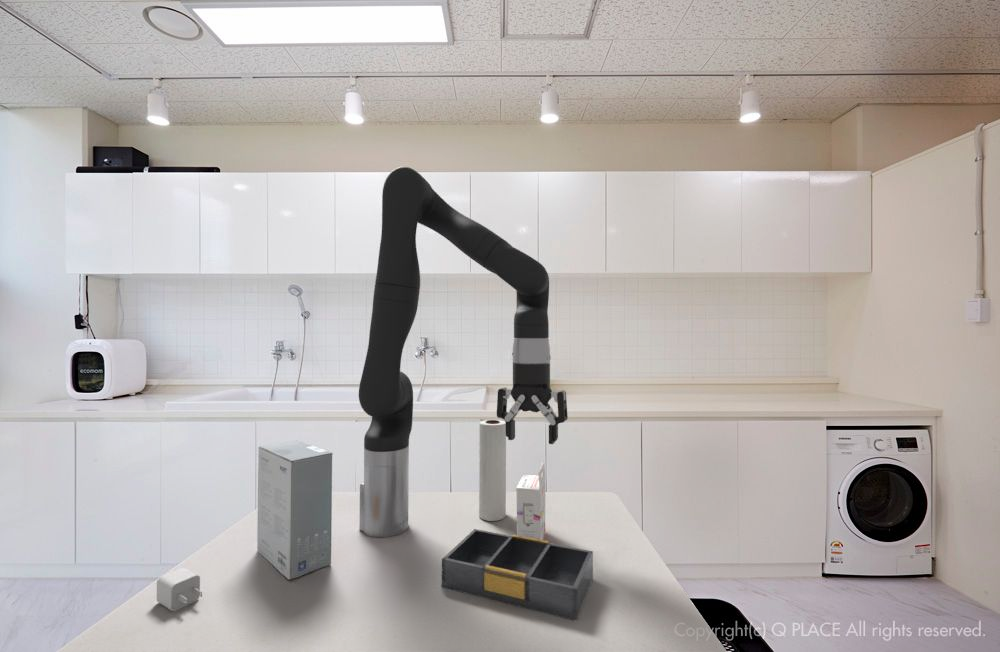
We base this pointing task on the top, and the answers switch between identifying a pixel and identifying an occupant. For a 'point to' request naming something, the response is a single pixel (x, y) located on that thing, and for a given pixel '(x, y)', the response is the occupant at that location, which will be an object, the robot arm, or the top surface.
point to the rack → (520, 572)
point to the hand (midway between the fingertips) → (531, 441)
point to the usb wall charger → (178, 589)
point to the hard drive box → (294, 507)
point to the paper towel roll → (492, 469)
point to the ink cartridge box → (531, 505)
